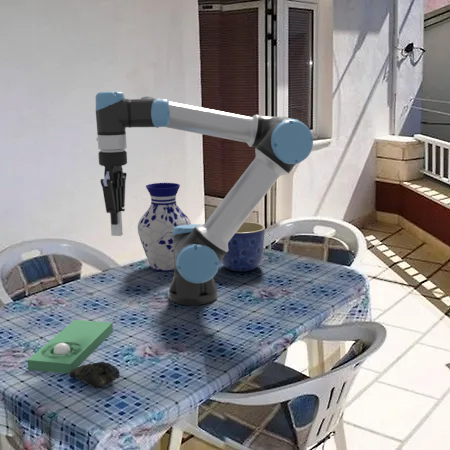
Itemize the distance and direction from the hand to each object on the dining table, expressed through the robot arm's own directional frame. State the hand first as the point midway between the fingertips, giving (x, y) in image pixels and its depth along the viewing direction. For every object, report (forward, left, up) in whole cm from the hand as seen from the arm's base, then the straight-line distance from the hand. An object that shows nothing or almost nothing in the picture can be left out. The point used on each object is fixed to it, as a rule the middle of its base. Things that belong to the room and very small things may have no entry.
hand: (117, 235), depth 171 cm
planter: (-25, -52, -25) cm, 63 cm away
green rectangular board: (+4, +23, -24) cm, 33 cm away
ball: (+4, +29, -22) cm, 36 cm away
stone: (-8, +37, -25) cm, 45 cm away
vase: (+2, -48, -25) cm, 54 cm away
